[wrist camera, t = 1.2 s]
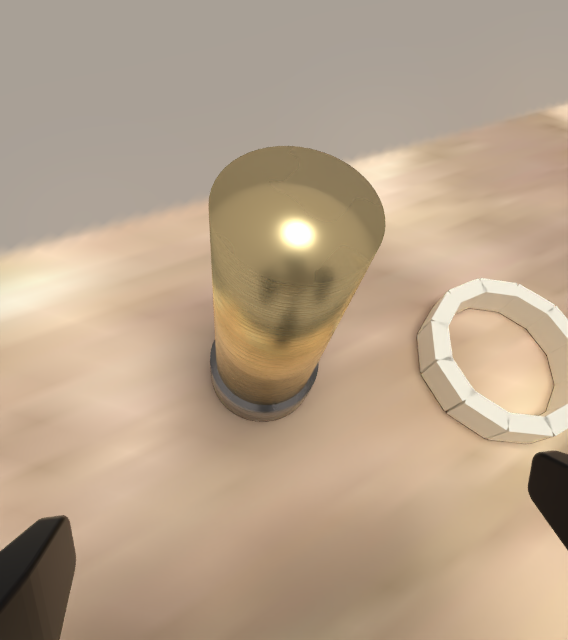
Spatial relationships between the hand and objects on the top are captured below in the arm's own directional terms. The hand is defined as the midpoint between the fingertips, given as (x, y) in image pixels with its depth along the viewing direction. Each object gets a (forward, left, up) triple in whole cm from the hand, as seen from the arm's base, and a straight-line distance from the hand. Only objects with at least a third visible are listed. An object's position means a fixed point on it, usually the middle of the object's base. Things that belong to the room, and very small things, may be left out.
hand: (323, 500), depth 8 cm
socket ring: (-7, -15, -13) cm, 21 cm away
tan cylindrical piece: (+4, -6, -13) cm, 15 cm away
